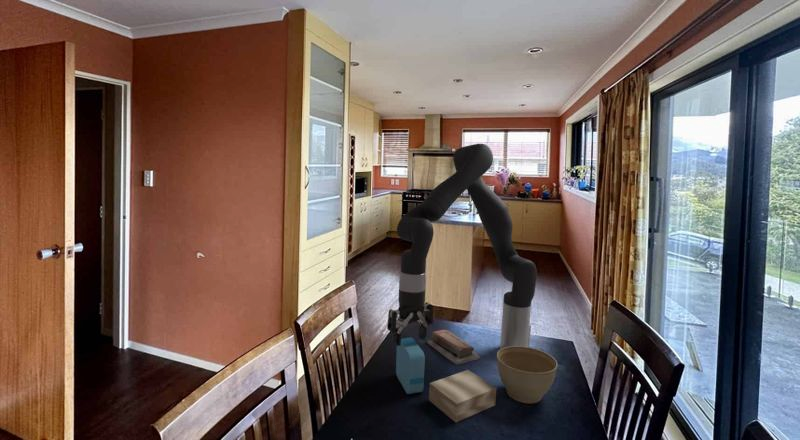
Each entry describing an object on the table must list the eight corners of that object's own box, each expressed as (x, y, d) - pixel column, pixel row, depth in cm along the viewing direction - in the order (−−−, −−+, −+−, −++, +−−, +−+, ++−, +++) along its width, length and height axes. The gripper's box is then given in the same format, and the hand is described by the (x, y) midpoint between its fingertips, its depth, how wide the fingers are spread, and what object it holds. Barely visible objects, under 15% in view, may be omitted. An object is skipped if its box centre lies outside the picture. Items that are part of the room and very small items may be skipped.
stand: (466, 385, 116) (467, 369, 115) (495, 405, 107) (496, 387, 106) (428, 400, 108) (429, 383, 107) (455, 422, 99) (456, 403, 98)
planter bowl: (563, 395, 112) (567, 359, 111) (537, 420, 101) (540, 380, 100) (512, 373, 124) (514, 340, 122) (483, 393, 112) (485, 357, 111)
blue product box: (423, 394, 111) (425, 353, 109) (408, 396, 110) (409, 355, 108) (409, 372, 122) (411, 335, 121) (395, 374, 121) (396, 337, 119)
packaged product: (426, 331, 143) (448, 326, 147) (425, 344, 143) (448, 339, 148) (457, 352, 127) (481, 346, 132) (456, 366, 128) (480, 360, 133)
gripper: (424, 280, 119) (421, 332, 121) (383, 286, 111) (381, 341, 113) (440, 287, 113) (437, 341, 115) (398, 294, 105) (396, 352, 107)
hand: (409, 341), depth 114 cm, fingers open, 8 cm apart
